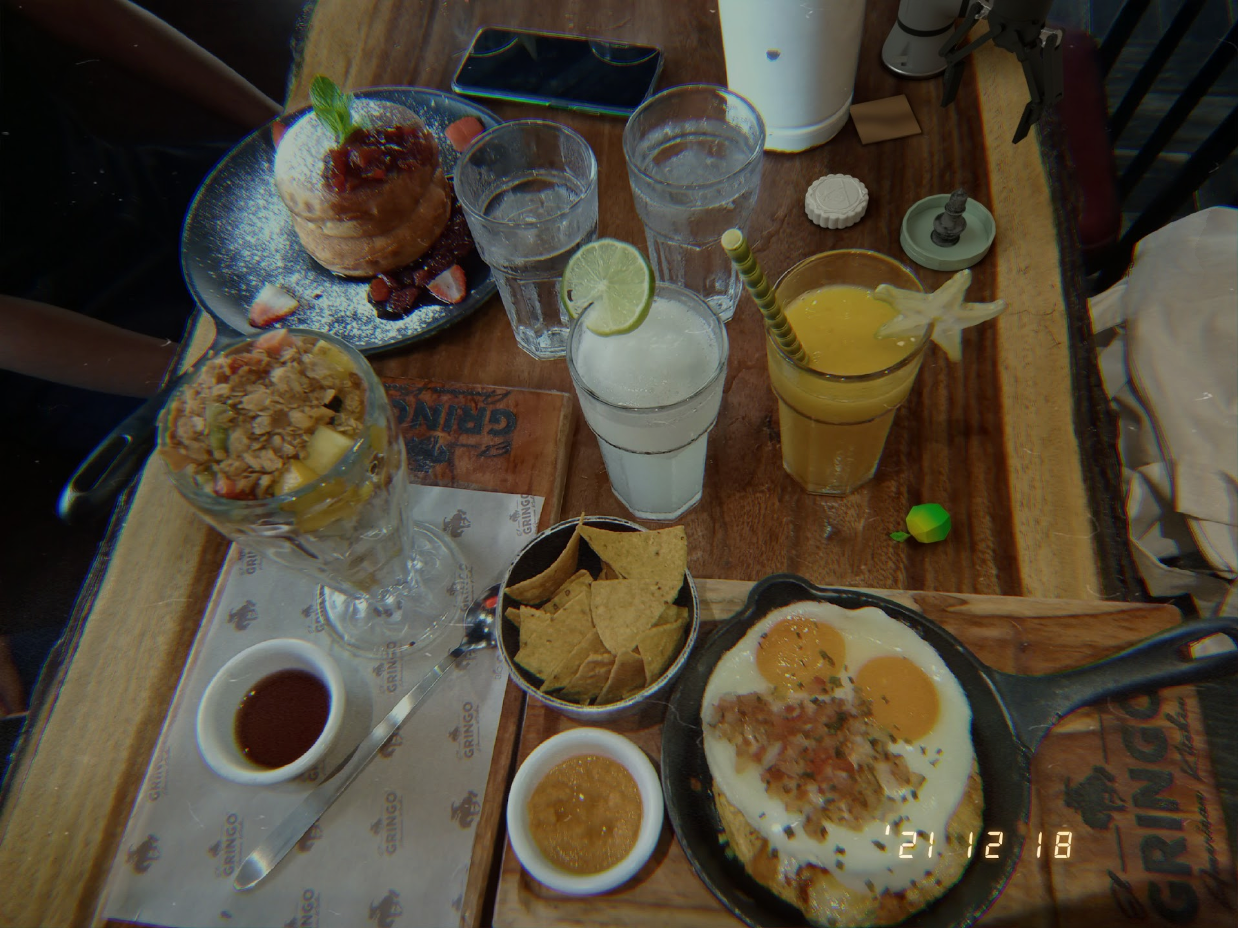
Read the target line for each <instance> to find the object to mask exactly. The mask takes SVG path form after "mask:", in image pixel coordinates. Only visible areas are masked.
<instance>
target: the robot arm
mask: <svg viewBox="0 0 1238 928" xmlns="http://www.w3.org/2000/svg"><path fill="white" fill-rule="evenodd" d="M1054 1H1055V0H900V2H899V7H898V12H897V16H896V21H895V22H894V25H893V27H892V28H891V30H890V32H889V34H888V36H887V37H886V39H885V41H884V43H883V46H882V49H881V55H880V60H881V64H882V66H883V68H884V69H885V70H886V71H887V72H889V74H891V75H893V76H895V77H897V78H900V79H906V80H909V81H922V80H929V79H932V78H935V77H938V76H940V75H942V74H944V75H943V84H946V85H945V87H944V91H943V95H942V98H941V102H940V107H941V108H942V109H945V108H946V107H948V106H949V105H951V104H953V103H954V102H955V101H956V99H957V95H958V93H959V88H960V85H961V82H962V79H963V75H964V73H965V69H966V66H967V61H965V60H963V58H965V57H966V56H968V55H970V54H971V53H973V52H975V50H977V49H979V48H980V47H981V46H983V45H985V44H986V43H988V42H990V41H991V40H992V42H993V44H994V45H993V46H994V47H996V48H999V49H1004V50H1005V51H1006V52H1007V53H1009V54H1011V55H1012V54H1014V53H1015V54H1014V55H1015V57H1016V60H1017V62H1019V63H1020V65H1021V68H1022V72H1023V75H1024V78H1025V81H1026V85H1027V89H1028V92H1029V96H1030V99H1031V100H1030V101H1028V102H1027V103H1026V104H1025V106H1024V109H1023V112H1022V114H1021V117H1020V119H1019V123H1018V124H1017V127H1016V129H1015V131H1014V134H1013V136H1012V137H1013V138H1012V140H1011V143H1012V144H1014V145H1017V144H1018V143H1020V142H1022V140H1024V139H1025V138H1027V137H1028V135H1029V132H1030V130H1031V128H1032V126H1033V125H1035V124H1036V123H1037V122H1039V121H1040V120H1041V118H1042V115H1043V113H1044V111H1045V109H1046V107H1047V109H1048V108H1049V109H1050V108H1053V107H1054V106H1055V105H1056V104H1058V103H1059V102H1061V101H1062V100H1063V99H1064V97H1065V91H1064V90H1065V89H1064V62H1063V61H1064V59H1063V44H1064V40H1065V36H1066V33H1067V31H1066V28H1065V27H1063V26H1061V27H1058V28H1057V29H1054V28H1050V27H1047V23H1046V22H1047V17H1048V16H1049V14H1050V12H1051V10H1052V6H1053V4H1054ZM957 18H959V19H964V20H963V21H962V22H961V23H960V24H959V25H958V27H957V28H956V29H955V22H956V19H957ZM980 20H985V21H987V24H988V25H987V26H988V29H989V30H987V31H986V32H984V33H982V35H980V36H978V37H977V38H976V39H974V40H973V41H971V42H969V43H968V44H967V45H965V46H964V47H962V48H961V49H960V50H957V47H958V46H959V45H960V44H961V42H962V41H963V40H964V39H965V38H966V37H967V36H968V34H969V33H970V32H971V31H972V30H973V29H974V27H975V26H976V25H977V24H978V22H979V21H980ZM1039 39H1041V41H1042V43H1041V44H1040V40H1039ZM1027 47H1028V50H1026V48H1027ZM1041 48H1042V49H1043V50H1042V57H1041V54H1040V51H1041Z"/></svg>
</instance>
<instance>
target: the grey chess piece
mask: <svg viewBox="0 0 1238 928" xmlns="http://www.w3.org/2000/svg"><path fill="white" fill-rule="evenodd" d="M950 194H951V196H950V199H949V202H948V203H946V205H945V212H942V213H940V214H938V215H937V216H936V217H935V218H934V220H933V226H934V230H933V231H932V232H931V235H930V238H931V240H932V242H933V243H934V244H935V245H937V246H940V247H945V248H946V247H952V246H954V245H956V244H957V243H958V242H959V240H960V234H961V233H962V232H963V231H964V230H965V228H966V225H967V222H966V220H965V218H964V217H963V216H962V214H963V213H964V212H965V210H966V206H965V204H966V201H967V199H968V198H969V194H968V192H967V191H966V190H965V189H964V188H963V187H961V188H957V189H955V190H953V191H952V192H951V193H950Z"/></svg>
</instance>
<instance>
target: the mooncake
mask: <svg viewBox="0 0 1238 928" xmlns="http://www.w3.org/2000/svg"><path fill="white" fill-rule="evenodd" d="M868 194H869V190H868V189H867V188H866V184H865V183H863V182H861V181H860V180H859V179H858V178H857V177H853V176H851V174H842V173H837V174H832V173H830V174H828V175H826V176H820V177H819V178H818V179H817V180H814V181H813V182H812V185H810V186H809V187H808V188H807V192H806V194H805V198H804V207H805V208H804V212H805V213H806V214H807V218H808V219H809V220H811V221H812V222H813V224H814V225H819V226H820V227H821V228H823V229H824V228H825V229H826V228H829V229H831V230H836V229H845V228H846V227H852V226H853V225H854V224H855V223H859V222H860V221H861V218H862V217H864V216H865V214H866V210H867V209H868V203H869V195H868Z"/></svg>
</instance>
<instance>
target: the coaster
mask: <svg viewBox="0 0 1238 928" xmlns="http://www.w3.org/2000/svg"><path fill="white" fill-rule="evenodd" d="M850 105H851V106H850ZM850 105H849V106H850V111H849V113H850V116H851V119H852V121H853V124H854V126H855V129H856V131H857V134H858V137H859V139H860V141H861V144H862V146H867V145H872V144H876V143H881V142H886V141H890V140H898V139H901V138H907V137H912V136H916V135H921V134H922V130H921V128H920V125H919V123H918V121H917V119H916V116H915V114H914V112H913V110H912V108H911V106H910V103H909V101H908V99H907V96H906V94H904V93H903V94H898V95H894V96H889V97H884V98H880V99H874V100H869V101H865V102H859V103H855V104H850Z"/></svg>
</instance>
